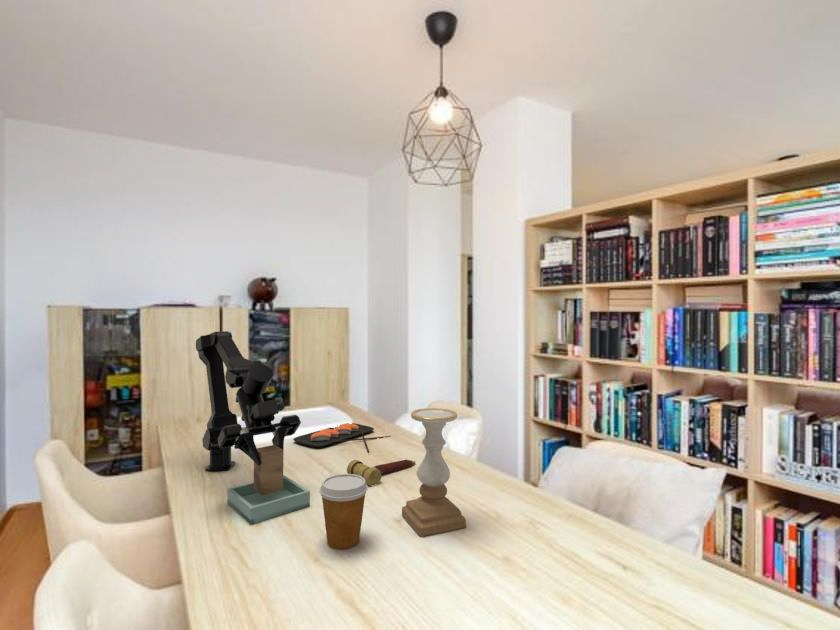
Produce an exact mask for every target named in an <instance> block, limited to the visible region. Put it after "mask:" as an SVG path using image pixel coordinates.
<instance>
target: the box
mask: <svg viewBox="0 0 840 630" xmlns="http://www.w3.org/2000/svg"><path fill="white" fill-rule="evenodd" d="M226 501H227V504H228V506H229V507H231V508H232V509H233V510H234V511H235V512H236V513H237V514H238V515H239V516H240V517H242V518H243V520H245V521H246V522H247V523H248V524H249V525H254V524H258V523H261V522H264V521H267V520H269V519H273V518H277V517H280V516H283V515H287V514H289V513H292V512H295V511H298V510H302V509H305V508H309V507H311V491H310V490H308V489H307V488H305V487H304V486H302V485H301V484H299V483H297V482H296V481H294V480H293V479H291V478H289V477H288V476H286V475H284V474H283V490H281V491H278V492H274V493H270V494H267V495H263V496H262V495H261V494H260V493H258V492H257V491H256V490H255V489H254V481H252V482H249V483H245V484H240V485H238V486H233V487H230V488H227V500H226Z"/></svg>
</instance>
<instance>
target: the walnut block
mask: <svg viewBox="0 0 840 630" xmlns="http://www.w3.org/2000/svg"><path fill="white" fill-rule="evenodd" d="M256 448H257V451H258V453H259V456H260V460H261V464H260V465H257V464H256V463H255V462H254V461H253V482H254V489H255V490H256V491H257V492H258V493H260V494H261V495H262V496H263V495H267V494H270V493H274V492H278V491H281V490H283V475H284V451H283V449H281V448H279V447H277V446H276V445H273V444H272V445H267V446H263V447H256Z"/></svg>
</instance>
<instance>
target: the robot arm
mask: <svg viewBox="0 0 840 630" xmlns="http://www.w3.org/2000/svg"><path fill="white" fill-rule="evenodd" d="M195 350H196V352H197V354H198V358H199V360H200V361H201V362H202V363H203V364H204V365H205V368H206V377H207V378H206V379H207V384H208V393H209V400H210V401H209V403H210V411H211V415H210V417H209V419H208V421H207V423H206V430H205V431H204V432H205V433H204V434H203V437H202V440H201V442H202V448H204V449H205V450H206V451H209V464H208V466H207V467H206V468H204V469H205V470H204V471H205V472H211V471H213V472H218V471H221V472H222V471H230V469H231V468H232V467H233V466H234V465H235V464H236V460H235V461H234V460H232V448H233V447H234V449H235V450H240V451H241V452H243V453H244V454H245V455H246V456H248V457H249V458H250V459H251V460H252V461H253V463H254V462H255V463H256V464H257V465H260V464H261V460H260V456H259V453H258V451H257V448H258V447H257V445H256V443H255V440H254V437H255V436H258V435H260V436H261V435H266V434H270V433H272V435H273V437H272V439H271V443H272V445H276V446H277V447H279V448H281V449H283V452H284V445H285V438H286V437H290V436H293V435H294V434H295V433H296V432H297V431H298V428H299V427H300V425H301V424H302V422H301V419H300V417H299V416H298V415H297V414H291V415H287V416H282V417H281V419H280V420H279V422H275V423H272V422H274V420H275V418H276V417H275V415H277V414H279V412H282V411H284V410H285V402H284V400H283V397H282V396H279V397H278V396H277V397H275V398H273V399H272V400H268V401H267V400H266V401H264V398H263V395H264V393H266V391H267V389H268V386H269V384H270V383H271V381H272V379H273V376H274V372H273V369H272V368H270V367H269V366H268V365H267V364H263V363H262V361H261V360H253V361H252V360H250V359H247V358H245V357H244V355H242V352H241V351H240V349H239V348H238V346H237V344H236V342H235V341H234V339H233V335H232V332H231V331H214V332H210V334H206V335H205V334H204V335H200V336H199V338H197V339H196V341H195ZM224 365H225V367H226V371H225V367H224ZM227 385H228V387H229V388H231V389H236V388H238V389H237V392H236V395H235V403H238V406H239V409H240V412H241V414H242V415H241V417H240V419H241V422H244V424H245V427H242V425H241V424H240V423H238V416H237V415H236V413H233V412H232V411H231V410H230V408H229V407H230V406H229V398H228V392H227V391H228V390H227Z"/></svg>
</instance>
